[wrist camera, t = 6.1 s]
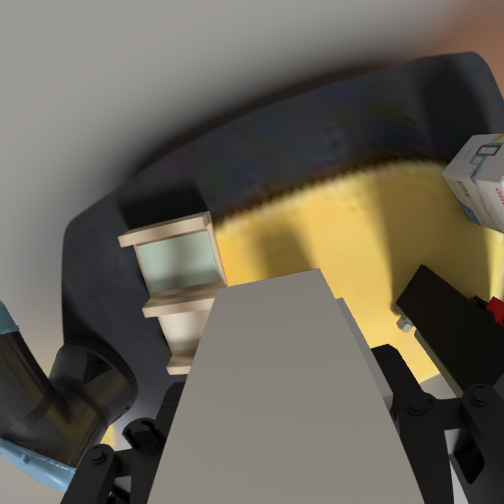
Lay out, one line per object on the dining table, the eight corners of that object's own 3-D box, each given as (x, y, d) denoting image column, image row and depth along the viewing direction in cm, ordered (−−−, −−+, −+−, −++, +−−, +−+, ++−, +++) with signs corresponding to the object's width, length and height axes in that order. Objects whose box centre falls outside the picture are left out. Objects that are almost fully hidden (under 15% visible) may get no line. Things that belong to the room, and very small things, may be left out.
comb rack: (176, 358, 39) (169, 374, 35) (131, 229, 34) (118, 236, 30) (245, 351, 38) (243, 368, 34) (209, 210, 33) (202, 216, 29)
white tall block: (242, 367, 16) (219, 579, 4) (217, 288, 14) (136, 539, 3) (330, 351, 15) (387, 560, 4) (319, 268, 14) (428, 514, 2)
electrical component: (385, 316, 35) (455, 426, 16) (429, 250, 32) (535, 326, 13) (455, 355, 37) (516, 437, 18) (492, 303, 34) (568, 371, 15)
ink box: (500, 182, 29) (558, 195, 18) (470, 223, 31) (527, 247, 20) (472, 133, 28) (532, 131, 16) (439, 173, 30) (500, 182, 18)
